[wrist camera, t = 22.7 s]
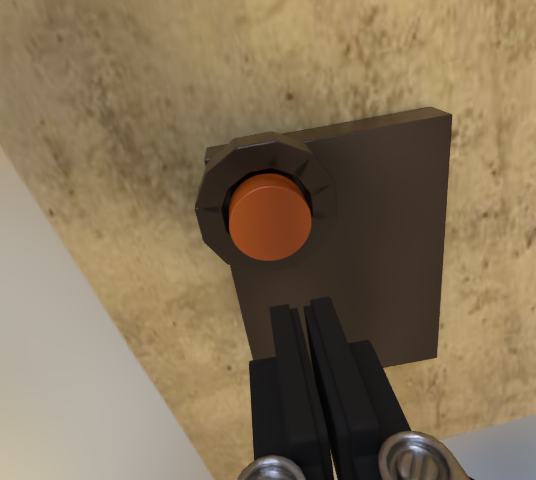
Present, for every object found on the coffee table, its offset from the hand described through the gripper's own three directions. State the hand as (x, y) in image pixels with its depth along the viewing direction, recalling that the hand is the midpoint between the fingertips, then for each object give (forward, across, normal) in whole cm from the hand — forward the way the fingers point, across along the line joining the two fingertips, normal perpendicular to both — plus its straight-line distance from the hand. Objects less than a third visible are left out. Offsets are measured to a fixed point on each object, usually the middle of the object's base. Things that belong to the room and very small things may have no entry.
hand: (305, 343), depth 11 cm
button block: (+13, -3, +5) cm, 14 cm away
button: (+9, 0, 0) cm, 9 cm away
